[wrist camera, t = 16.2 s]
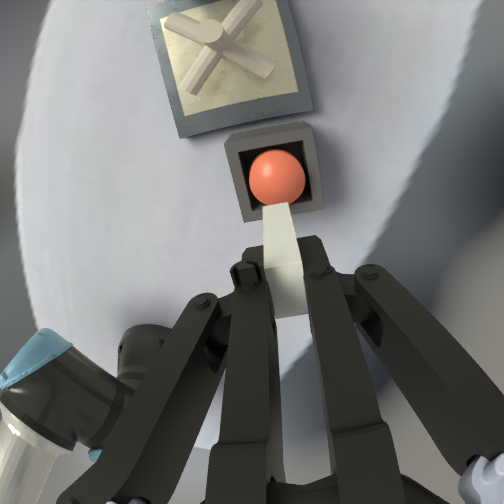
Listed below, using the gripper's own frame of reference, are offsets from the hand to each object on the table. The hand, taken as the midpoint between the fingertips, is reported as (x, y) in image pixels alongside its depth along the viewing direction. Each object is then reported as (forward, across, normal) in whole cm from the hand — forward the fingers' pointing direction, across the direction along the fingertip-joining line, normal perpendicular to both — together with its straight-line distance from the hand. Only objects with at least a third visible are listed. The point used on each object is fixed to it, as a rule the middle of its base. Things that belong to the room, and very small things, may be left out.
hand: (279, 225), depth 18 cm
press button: (+11, 0, 0) cm, 11 cm away
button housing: (+16, 0, 0) cm, 16 cm away
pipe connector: (+14, +2, -13) cm, 19 cm away
